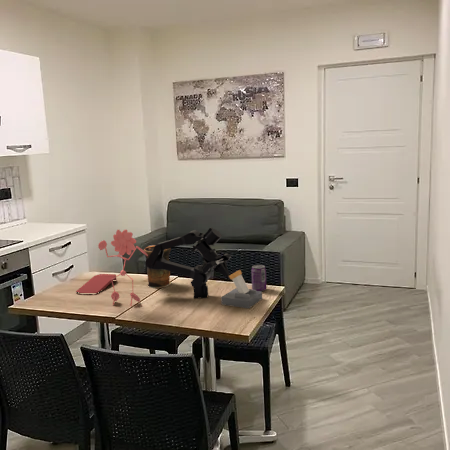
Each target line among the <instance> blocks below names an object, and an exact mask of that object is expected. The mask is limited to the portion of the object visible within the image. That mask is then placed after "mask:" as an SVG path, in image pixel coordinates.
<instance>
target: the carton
mask: <svg viewBox="0 0 450 450" xmlns="http://www.w3.org/2000/svg"><path fill="white" fill-rule="evenodd" d="M116 276H117V274H115V273H114V274H113V273H112V274H111V273H99V274H97V275H94V276H92V277H91V278H90V279H89V280H88V281H87V282H85V283H84V284H83V285H81V286H80V288H78V289H77V290H76V291H75V293H76V292H79V293H98V292H100V291H101V290H102V291H104V290H105V289H106V288H107V287H108V286H109V285H110V284H112V281H113V280H117V277H116ZM114 277H116V278H114ZM113 278H114V279H113ZM111 280H112V281H111ZM102 291H101V292H102ZM101 292H100V293H101Z"/></svg>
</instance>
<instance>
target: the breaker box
mask: <svg viewBox="0 0 450 450" xmlns="http://www.w3.org/2000/svg"><path fill="white" fill-rule="evenodd" d="M248 289H249V291H248V292H247V293H245V294H243V293H239V292H238V290H237V288H236V287H235V288H233V289H232V290H230V291H229V292H227V293H225V294H224V295H222V296H220V301H221V302H220V303H221V305H223V306H229V307H237V308H243V309H250V308H252V307H254V306H255V305H256V304H257V303H258V302H260V301H262V300H263V291H256V290H253V289H252V288H251V289H250V288H248Z"/></svg>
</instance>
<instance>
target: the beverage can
mask: <svg viewBox="0 0 450 450" xmlns="http://www.w3.org/2000/svg"><path fill="white" fill-rule="evenodd" d="M251 289H252V290H256V291H261V292H263V291H266V290H267V270H266V266H265V265H263V264H255V265H252V266H251Z"/></svg>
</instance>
